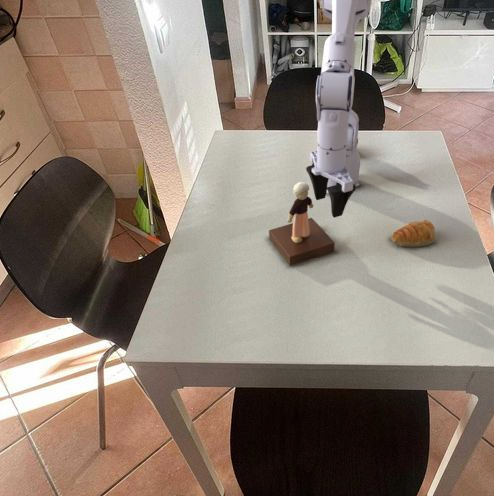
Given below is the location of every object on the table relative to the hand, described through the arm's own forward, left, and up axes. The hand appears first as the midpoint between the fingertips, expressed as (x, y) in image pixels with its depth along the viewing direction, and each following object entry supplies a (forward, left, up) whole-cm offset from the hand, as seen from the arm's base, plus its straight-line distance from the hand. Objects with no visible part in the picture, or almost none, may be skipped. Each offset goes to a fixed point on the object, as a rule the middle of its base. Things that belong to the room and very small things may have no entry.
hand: (328, 206), depth 93 cm
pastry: (-17, +10, -8) cm, 22 cm away
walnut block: (+7, 0, -8) cm, 10 cm away
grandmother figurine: (+7, 0, -6) cm, 9 cm away
